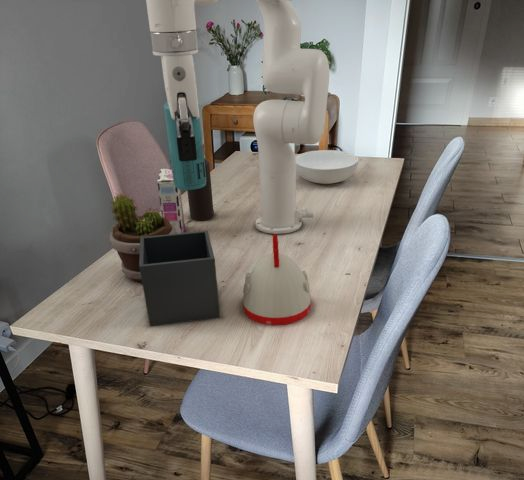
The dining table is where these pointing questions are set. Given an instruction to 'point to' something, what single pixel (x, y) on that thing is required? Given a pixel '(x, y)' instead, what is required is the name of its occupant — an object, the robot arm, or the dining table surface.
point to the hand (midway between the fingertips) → (186, 154)
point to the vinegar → (201, 199)
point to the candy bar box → (170, 200)
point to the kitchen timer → (276, 290)
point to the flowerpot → (134, 232)
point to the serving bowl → (326, 166)
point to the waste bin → (179, 277)
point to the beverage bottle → (186, 172)
